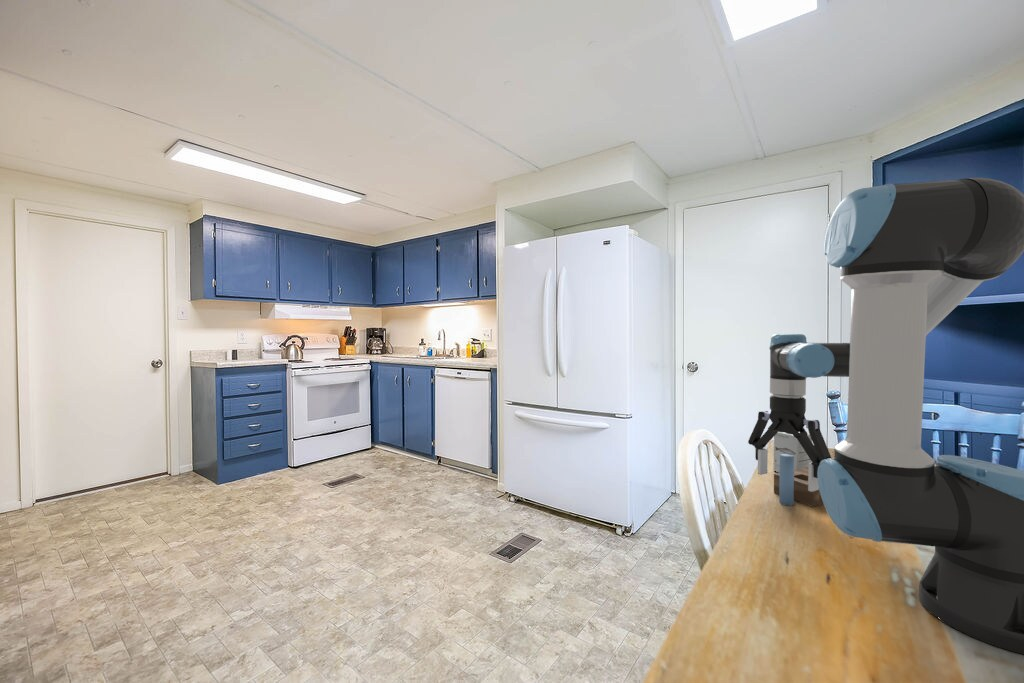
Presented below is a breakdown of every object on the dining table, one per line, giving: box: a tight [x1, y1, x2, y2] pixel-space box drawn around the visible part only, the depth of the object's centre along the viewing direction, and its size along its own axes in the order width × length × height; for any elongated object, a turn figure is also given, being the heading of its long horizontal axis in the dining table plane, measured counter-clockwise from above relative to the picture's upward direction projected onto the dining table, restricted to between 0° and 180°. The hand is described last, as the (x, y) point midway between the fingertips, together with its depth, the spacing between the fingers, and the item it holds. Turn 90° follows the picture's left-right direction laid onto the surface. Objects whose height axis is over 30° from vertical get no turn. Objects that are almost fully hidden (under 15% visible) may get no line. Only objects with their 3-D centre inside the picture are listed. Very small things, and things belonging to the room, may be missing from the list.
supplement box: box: [772, 432, 813, 473], centre depth 127 cm, size 7×7×13 cm
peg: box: [778, 454, 795, 507], centre depth 104 cm, size 3×3×12 cm
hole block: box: [773, 467, 824, 508], centre depth 111 cm, size 18×10×5 cm, turn 113°
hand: (786, 481), depth 104 cm, fingers open, 12 cm apart
